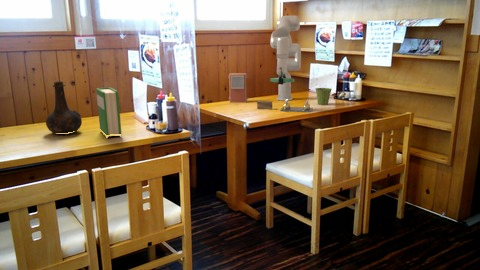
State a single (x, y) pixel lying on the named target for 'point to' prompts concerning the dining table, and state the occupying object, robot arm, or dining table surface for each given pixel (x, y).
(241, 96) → the control panel
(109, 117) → the hardback book
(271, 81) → the circuit board
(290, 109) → the chassis
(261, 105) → the walnut stand
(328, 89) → the plant pot
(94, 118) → the dining table surface
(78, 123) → the glass bottle
